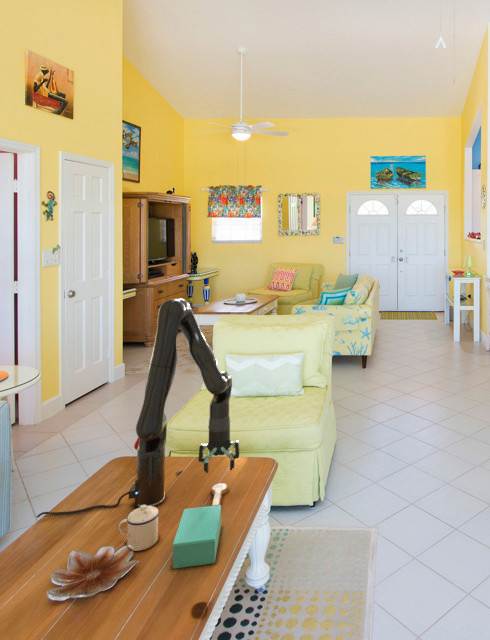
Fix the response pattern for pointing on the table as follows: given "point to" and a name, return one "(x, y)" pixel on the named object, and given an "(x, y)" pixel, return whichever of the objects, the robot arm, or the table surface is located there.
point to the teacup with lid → (141, 527)
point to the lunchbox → (196, 552)
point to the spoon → (218, 493)
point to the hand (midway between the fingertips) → (219, 470)
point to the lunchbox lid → (198, 525)
